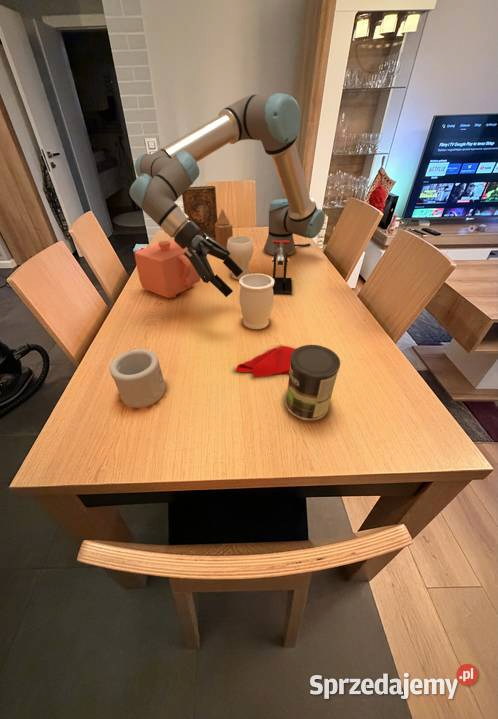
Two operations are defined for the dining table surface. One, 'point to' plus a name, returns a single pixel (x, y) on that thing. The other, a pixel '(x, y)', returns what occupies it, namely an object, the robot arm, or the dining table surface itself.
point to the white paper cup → (256, 299)
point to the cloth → (269, 362)
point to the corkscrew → (280, 256)
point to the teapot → (165, 269)
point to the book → (201, 208)
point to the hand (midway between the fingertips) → (235, 283)
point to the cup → (240, 253)
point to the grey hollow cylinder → (138, 377)
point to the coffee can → (311, 381)
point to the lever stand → (281, 278)
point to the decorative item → (223, 229)
